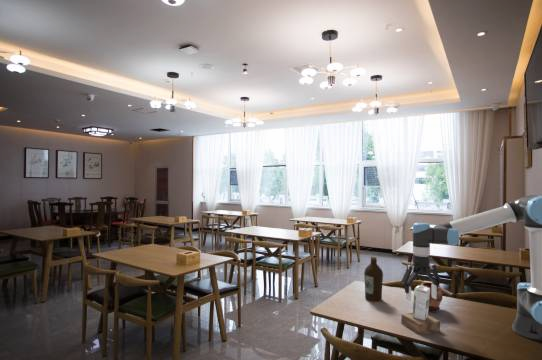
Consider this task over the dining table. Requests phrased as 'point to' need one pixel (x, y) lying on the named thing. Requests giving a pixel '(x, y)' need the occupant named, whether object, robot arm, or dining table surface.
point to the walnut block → (420, 323)
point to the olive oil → (373, 281)
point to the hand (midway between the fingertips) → (421, 298)
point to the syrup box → (421, 302)
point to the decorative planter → (433, 302)
